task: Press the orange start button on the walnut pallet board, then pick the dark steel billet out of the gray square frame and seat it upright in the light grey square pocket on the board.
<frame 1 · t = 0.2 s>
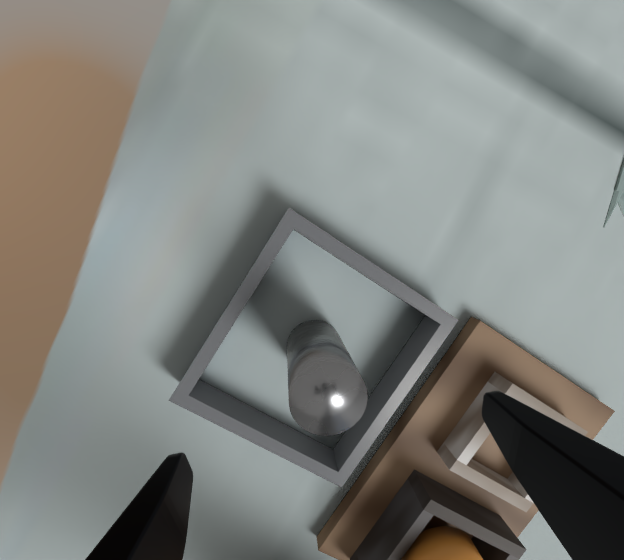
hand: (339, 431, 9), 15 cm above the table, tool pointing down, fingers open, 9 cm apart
steel billet: (320, 368, 21), in the gray square frame
gray square frame: (314, 346, 25), on the table
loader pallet: (460, 469, 28), on the table
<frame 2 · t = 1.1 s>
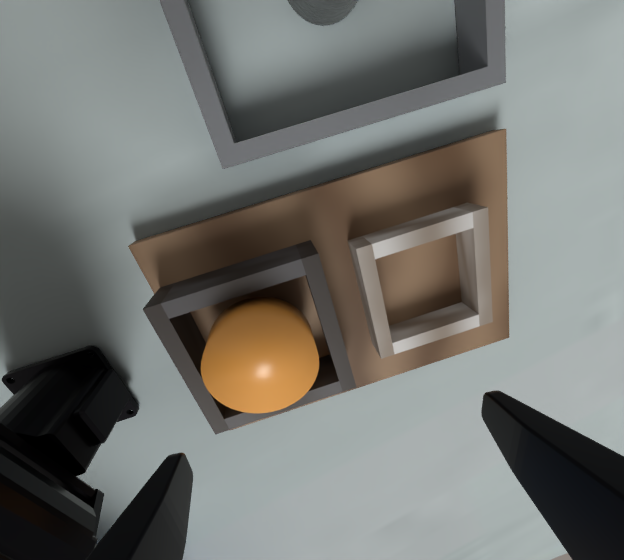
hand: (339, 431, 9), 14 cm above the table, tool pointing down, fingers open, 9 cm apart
start button: (261, 355, 18), point 4 cm above the table, slide at 0.0 cm
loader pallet: (345, 292, 23), on the table
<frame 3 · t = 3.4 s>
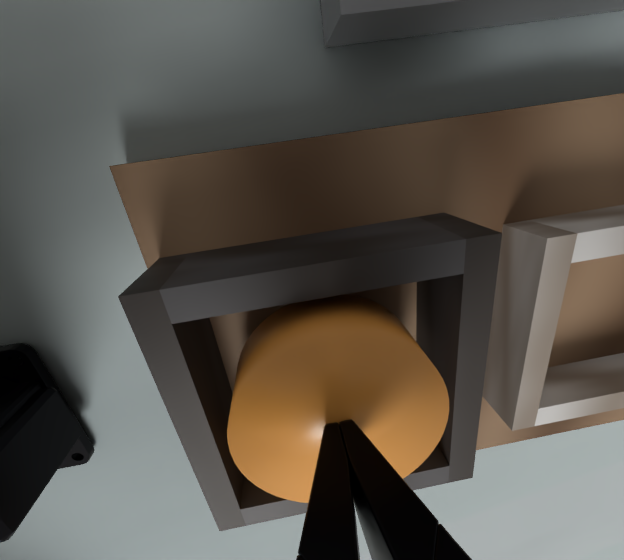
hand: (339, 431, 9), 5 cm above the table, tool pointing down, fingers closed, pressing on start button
start button: (334, 399, 10), point 4 cm above the table, slide at 0.6 cm, touching gripper
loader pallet: (457, 311, 14), on the table
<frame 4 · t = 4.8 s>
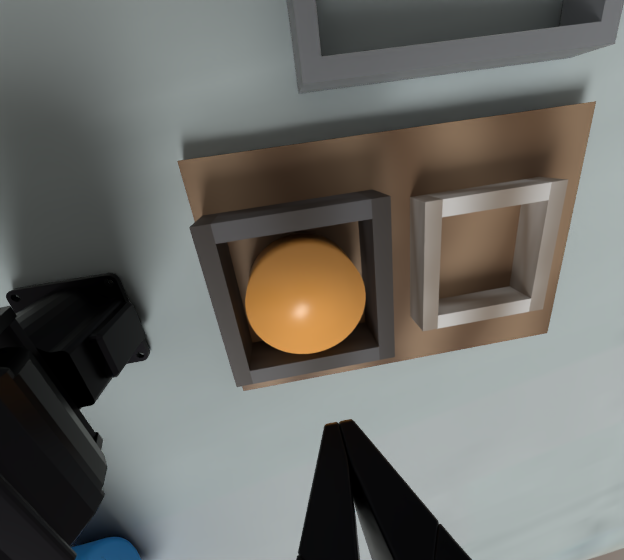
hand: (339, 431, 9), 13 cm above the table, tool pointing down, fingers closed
start button: (304, 294, 18), point 3 cm above the table, slide at 1.2 cm
alarm clock: (108, 547, 30), on the table
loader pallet: (391, 257, 21), on the table
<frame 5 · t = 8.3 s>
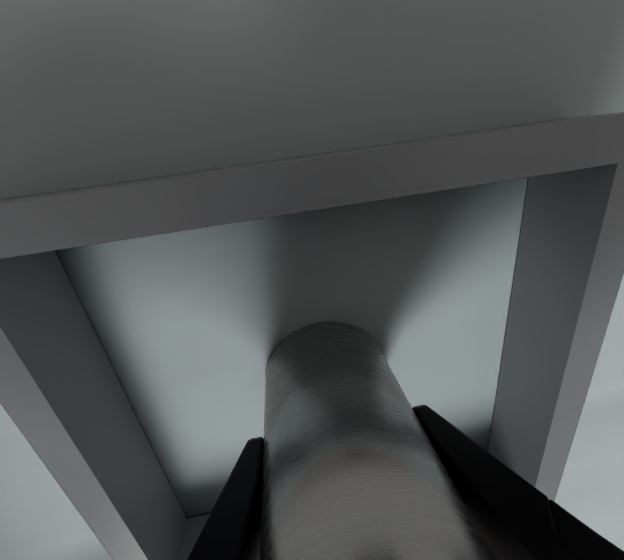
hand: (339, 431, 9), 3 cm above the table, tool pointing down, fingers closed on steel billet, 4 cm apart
steel billet: (351, 479, 8), in the gray square frame, touching gripper
gray square frame: (325, 373, 11), on the table
when the fingers open (5 cm above the table, at t = 12.9 s): steel billet drops 1 cm, resting on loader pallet.
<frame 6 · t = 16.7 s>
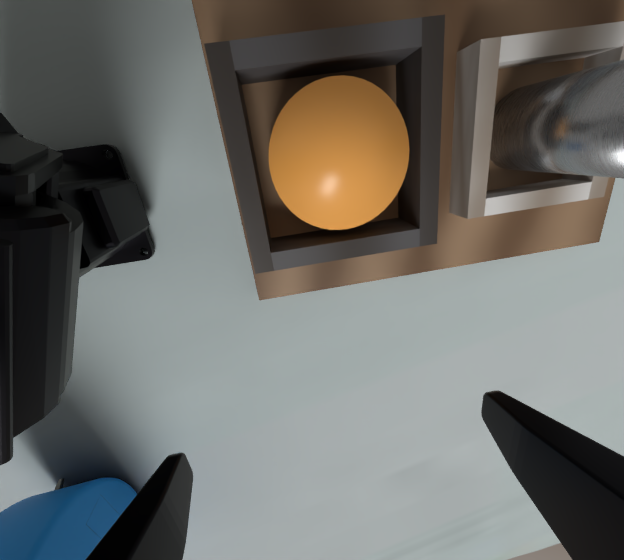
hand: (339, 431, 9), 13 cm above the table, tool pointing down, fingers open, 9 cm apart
start button: (335, 159, 15), point 3 cm above the table, slide at 1.2 cm
steel billet: (583, 123, 14), point 5 cm above the table, touching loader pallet
alarm clock: (108, 494, 27), on the table
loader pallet: (429, 142, 19), on the table
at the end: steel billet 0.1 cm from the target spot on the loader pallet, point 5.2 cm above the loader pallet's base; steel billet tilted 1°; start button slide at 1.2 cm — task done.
